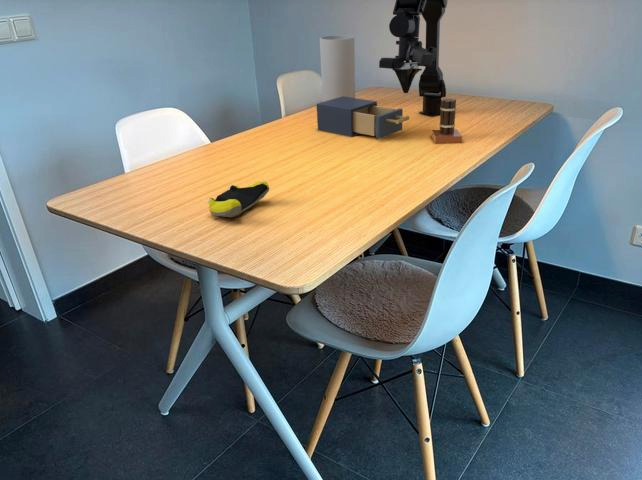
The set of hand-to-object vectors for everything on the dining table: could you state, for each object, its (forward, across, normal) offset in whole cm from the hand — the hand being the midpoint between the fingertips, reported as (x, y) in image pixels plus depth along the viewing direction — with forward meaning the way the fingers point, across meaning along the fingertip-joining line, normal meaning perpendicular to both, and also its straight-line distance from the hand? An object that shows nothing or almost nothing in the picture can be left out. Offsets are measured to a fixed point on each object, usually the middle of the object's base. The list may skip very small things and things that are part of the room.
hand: (405, 93), depth 168 cm
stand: (+13, +9, -10) cm, 19 cm away
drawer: (+13, -2, +8) cm, 15 cm away
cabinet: (+13, -4, +22) cm, 26 cm away
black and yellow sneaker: (+21, -68, -13) cm, 72 cm away
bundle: (+11, +8, -10) cm, 18 cm away
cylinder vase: (+10, +14, +47) cm, 50 cm away
